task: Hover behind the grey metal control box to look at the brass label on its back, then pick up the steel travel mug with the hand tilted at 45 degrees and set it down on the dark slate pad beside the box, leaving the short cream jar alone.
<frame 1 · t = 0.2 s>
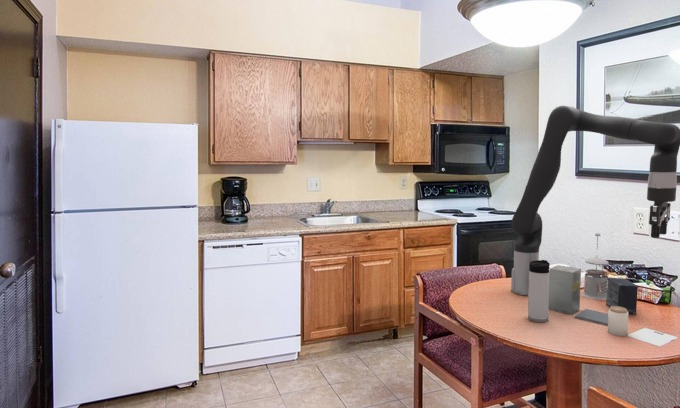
hand: (658, 235, 144), 28 cm above the table, tool pointing down, fingers open, 8 cm apart
travel mug: (538, 319, 150), on the table
small box: (620, 310, 158), on the table
cream jar: (617, 332, 138), on the table
slate pad: (596, 318, 150), on the table
control box: (563, 309, 159), on the table
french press: (596, 295, 175), on the table
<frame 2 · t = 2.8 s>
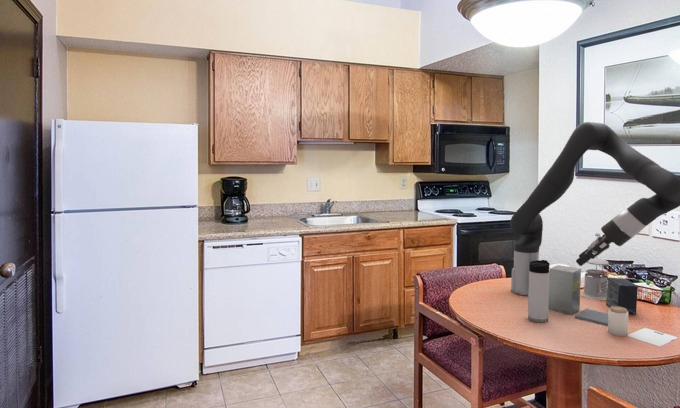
hand: (579, 260, 142), 21 cm above the table, tool tilted 45°, fingers open, 8 cm apart
nothing on the table moved.
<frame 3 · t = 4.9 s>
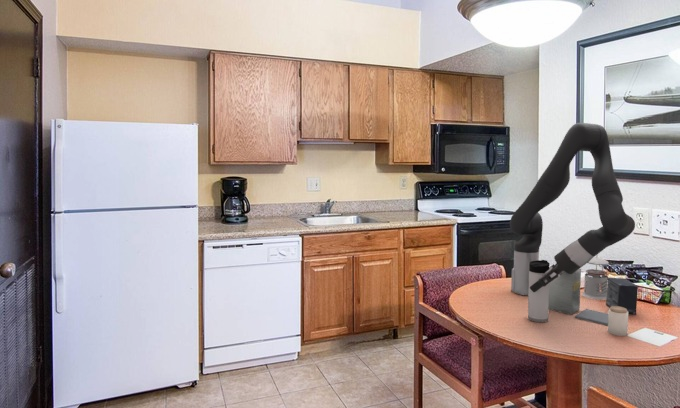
hand: (533, 287, 150), 11 cm above the table, tool tilted 45°, fingers open, 6 cm apart
travel mug: (538, 319, 150), on the table, touching gripper
everything else where it was.
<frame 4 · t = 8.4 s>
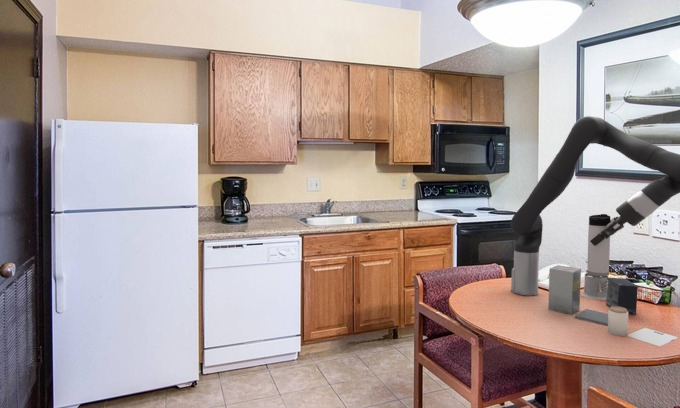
hand: (593, 241, 149), 26 cm above the table, tool tilted 45°, fingers closed on travel mug, 6 cm apart
travel mug: (598, 274, 149), point 15 cm above the table, touching gripper
everything else where it was.
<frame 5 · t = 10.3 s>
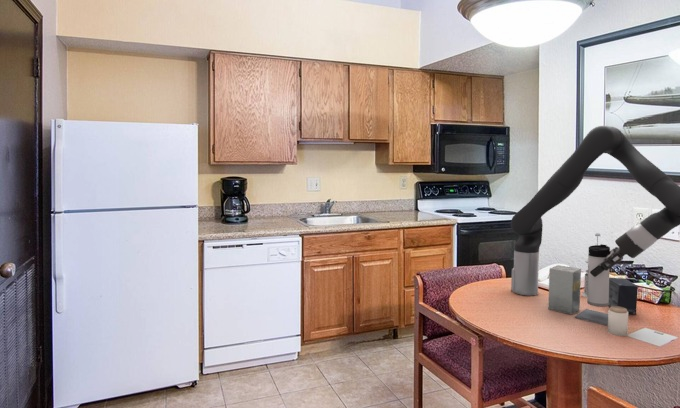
hand: (593, 272, 150), 16 cm above the table, tool tilted 45°, fingers closed on travel mug, 6 cm apart
travel mug: (597, 304, 150), point 5 cm above the table, touching gripper
everything else where it was.
when the fingers open (12 cm above the table, at t = 11.6 s): travel mug stays where it is, resting on slate pad.
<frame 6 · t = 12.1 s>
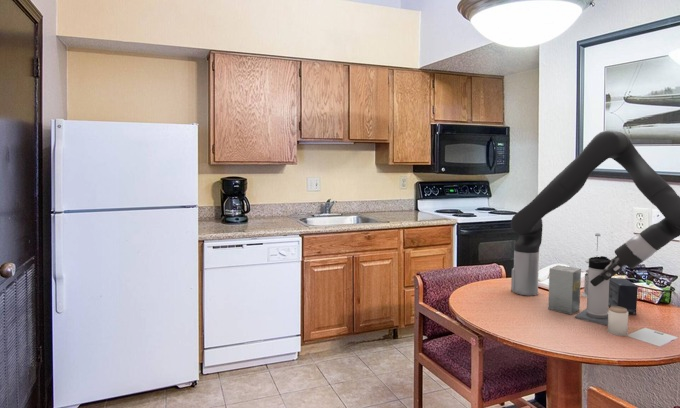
hand: (593, 281, 150), 13 cm above the table, tool tilted 45°, fingers open, 8 cm apart
travel mug: (597, 316, 151), point 1 cm above the table, touching slate pad
everything else where it was.
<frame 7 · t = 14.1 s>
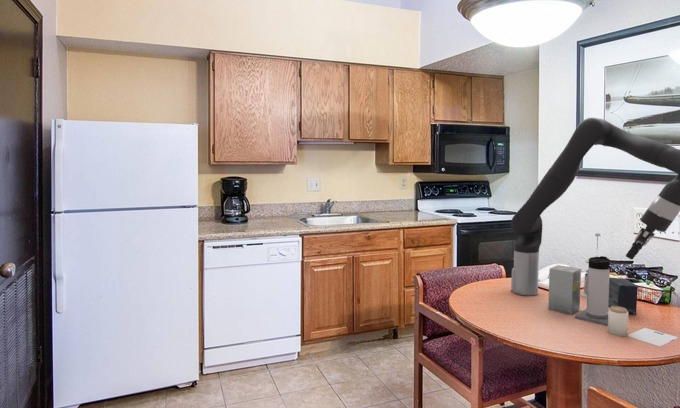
hand: (630, 255, 145), 22 cm above the table, tool tilted 25°, fingers open, 8 cm apart
nothing on the table moved.
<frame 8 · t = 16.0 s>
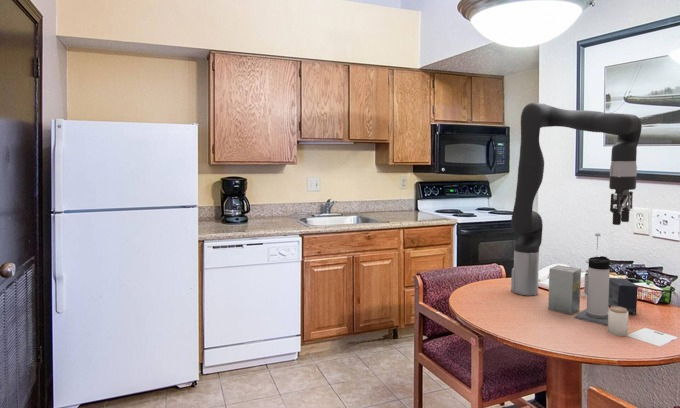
hand: (620, 223, 149), 32 cm above the table, tool pointing down, fingers open, 8 cm apart
nothing on the table moved.
at the end: travel mug inside the target area (0.3 cm from its centre), point 0.6 cm above the table; travel mug tilted 0°; the gripper is holding nothing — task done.
